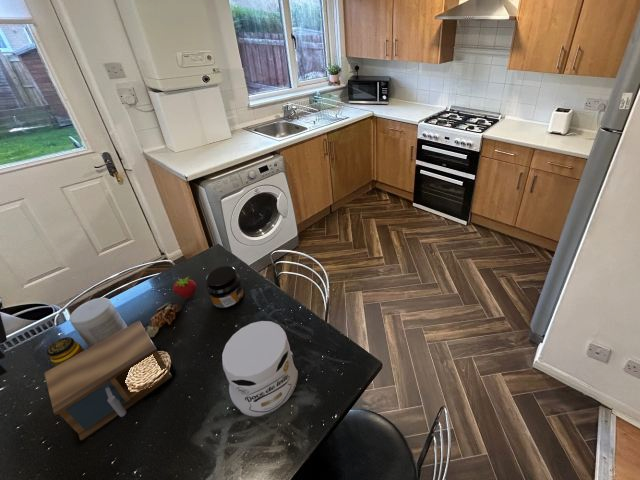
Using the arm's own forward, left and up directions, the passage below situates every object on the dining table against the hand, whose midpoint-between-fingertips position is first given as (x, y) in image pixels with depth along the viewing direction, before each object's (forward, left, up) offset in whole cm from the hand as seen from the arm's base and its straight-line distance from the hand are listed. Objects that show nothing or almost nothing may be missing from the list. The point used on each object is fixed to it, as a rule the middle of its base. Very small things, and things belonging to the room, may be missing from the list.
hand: (1, 370), depth 66 cm
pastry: (-14, +28, -24) cm, 39 cm away
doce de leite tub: (+32, +39, -24) cm, 56 cm away
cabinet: (+1, +13, -23) cm, 27 cm away
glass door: (+10, +9, -22) cm, 26 cm away
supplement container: (-6, +47, -24) cm, 53 cm away
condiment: (-14, +6, -24) cm, 28 cm away
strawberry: (-18, +38, -24) cm, 48 cm away
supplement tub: (-18, +15, -24) cm, 33 cm away
